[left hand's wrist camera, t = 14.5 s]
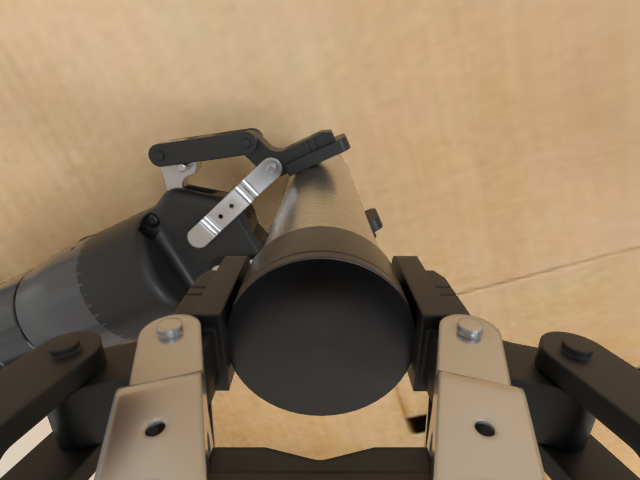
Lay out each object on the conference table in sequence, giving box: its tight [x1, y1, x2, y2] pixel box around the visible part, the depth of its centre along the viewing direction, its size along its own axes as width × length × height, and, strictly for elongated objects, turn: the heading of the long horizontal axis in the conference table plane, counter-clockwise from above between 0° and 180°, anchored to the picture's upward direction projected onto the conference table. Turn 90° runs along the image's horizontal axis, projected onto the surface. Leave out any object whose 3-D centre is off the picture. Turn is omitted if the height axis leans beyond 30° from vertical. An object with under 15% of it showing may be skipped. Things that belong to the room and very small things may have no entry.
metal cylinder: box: [263, 154, 378, 248], centre depth 19 cm, size 4×4×20 cm
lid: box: [227, 226, 416, 416], centre depth 10 cm, size 5×5×2 cm
